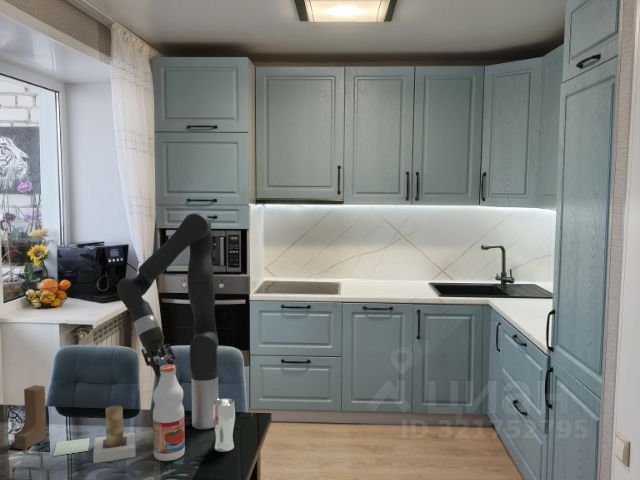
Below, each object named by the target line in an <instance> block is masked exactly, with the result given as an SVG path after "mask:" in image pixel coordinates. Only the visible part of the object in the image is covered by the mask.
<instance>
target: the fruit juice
mask: <svg viewBox="0 0 640 480" xmlns="http://www.w3.org/2000/svg"><path fill="white" fill-rule="evenodd" d="M176 370H177V366H176V365H175V364H174V365H167V364H164V365H161V366H160V373H161V376H160V377H159V381H158V384H157V386H156V387H155V388H154V390H153V395H152V398H153V403H154V407H153V409H152V427H153V428H152V429H153V431H152V432H153V433H152V434H153V439H152V440H153V441H152V442H153V456H154V458H155V459H156V460H158V461H161V462H169V461H174V460H178V459H180V458H181V457H183V456H184V454H185V450H186V445H185V444H186V442H185V441H186V439H185V437H186V436H185V435H186V434H185V433H186V431H185V408H184V404H183V400H184V390H183V387H182V385H180V383H179V381H178V377H177V375H176V373H177V372H176ZM175 372H176V373H175Z"/></svg>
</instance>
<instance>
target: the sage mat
mask: <svg viewBox="0 0 640 480" xmlns="http://www.w3.org/2000/svg"><path fill="white" fill-rule="evenodd" d="M89 441H91V438H90V437H87V438H79V439H73V440H71V439H70V440H65V441H63V440H62V441H57V442H56V443H55V448H54V451H53V454H52V457H53V458H55V457H61V455H62V456H66V454H69V455H73V454H72V453H76V454H79V453H78V452H83V453H85V452H84V451H88V452H89V449H90V442H89ZM88 448H89V449H88Z"/></svg>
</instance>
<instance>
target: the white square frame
mask: <svg viewBox="0 0 640 480" xmlns="http://www.w3.org/2000/svg"><path fill="white" fill-rule="evenodd" d="M135 434H136V433H135V432H129V433H128V432H127V433H123V446H119V447H112V448H106V435H105V436H99V437H95V438H94V443H93V444H94V445H93V452H92V455H93V457H92V458H93V464H98V463H104V462H105V463H106V462H111V461H118V460H125V459H131V458H136V435H135Z"/></svg>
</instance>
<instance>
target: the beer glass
mask: <svg viewBox="0 0 640 480" xmlns="http://www.w3.org/2000/svg"><path fill="white" fill-rule="evenodd" d="M235 421H236V409H235V400H234V399H232V398H226V397H225V398H219V399H218V400H216V401H214V405H213V422H214V427H213V428H214V432H215V444H214V450H215V451H217V452H219V453H220V452H223V453H225V452H229V451H231V450H234V448H235V444H234V439H233V435H234V429H235V428H234V427H235Z"/></svg>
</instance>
